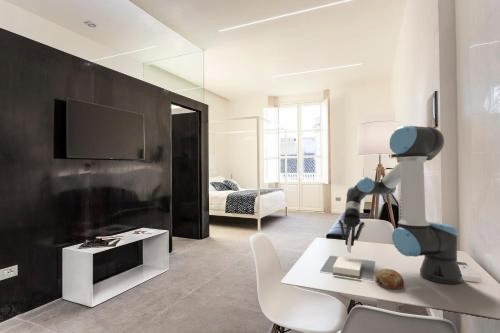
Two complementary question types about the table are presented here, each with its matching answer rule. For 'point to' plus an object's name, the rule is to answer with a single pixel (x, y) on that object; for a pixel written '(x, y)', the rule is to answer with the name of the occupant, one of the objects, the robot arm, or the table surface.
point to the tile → (347, 266)
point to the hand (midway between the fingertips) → (348, 250)
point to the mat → (366, 272)
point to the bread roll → (389, 279)
